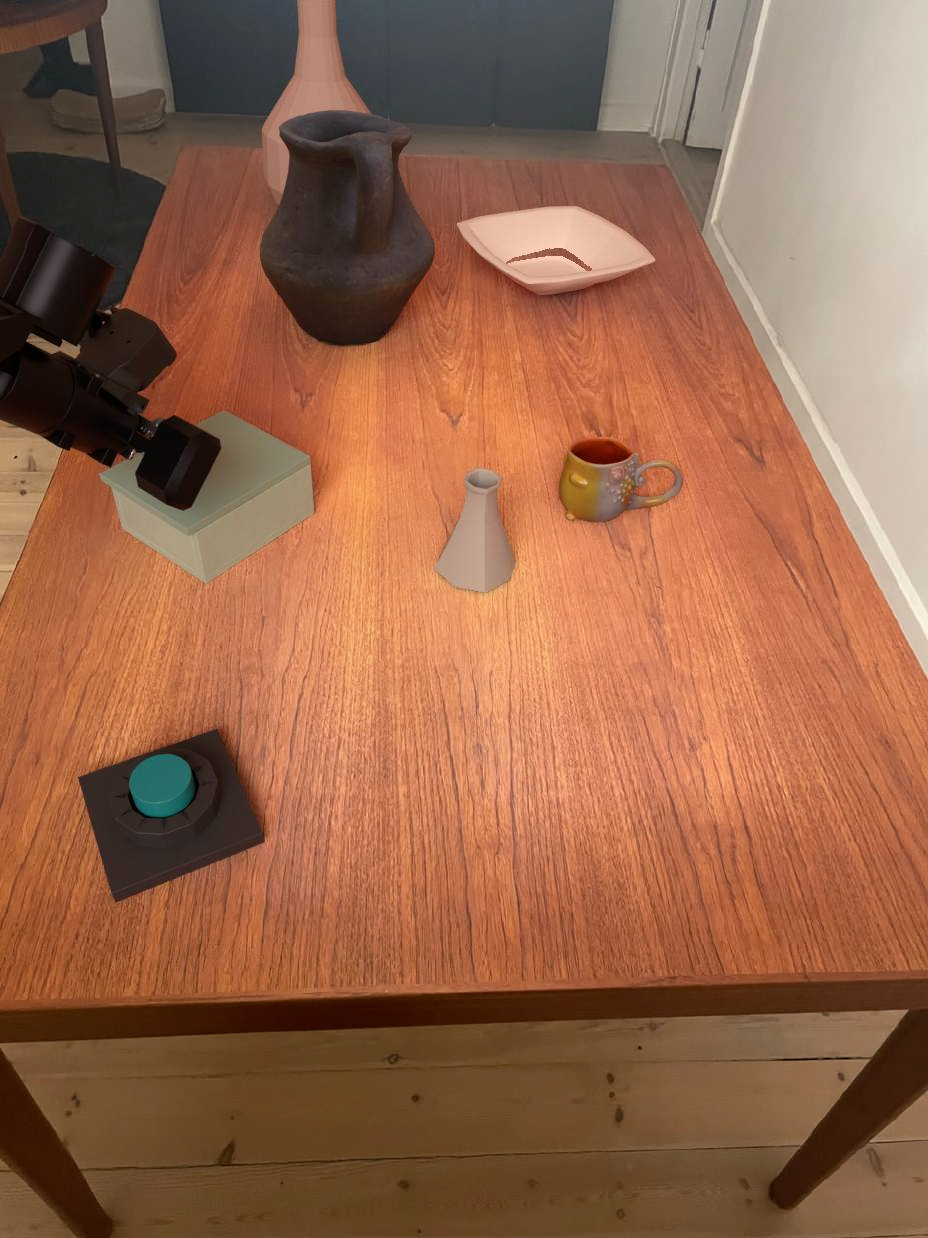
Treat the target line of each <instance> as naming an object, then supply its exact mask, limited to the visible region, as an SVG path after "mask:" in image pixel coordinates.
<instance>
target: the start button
mask: <svg viewBox="0 0 928 1238" xmlns="http://www.w3.org/2000/svg"><path fill="white" fill-rule="evenodd" d="M129 787H130V791H131V794H132V796H133V799H134V802H135V805H136V807H137V808H138V809H139V811H141V812H142V813H143V814H145V815H147V816H150V817H155V818H163V817H169V816H172V815H174V814H177V813H179V812H180V811H182V810H183V809H184V808H186V807H187V806H188V804H189V803H190V802H191V800H192V798H193V796H194V793H195V783H194V779H193V776H192V772H191V768H190V766H189V764H188V763H187V762H186V761H185V760H184V759H183V758H181V757H179V756H176V755H172V754H160V755H155V756H152V757H150V758H147V759H146V760H144V761H142V762H141V763H140V764H139V765H138V766H137V767H136V768H135V769H134V771H133V772H132V774H131V776H130V780H129Z"/></svg>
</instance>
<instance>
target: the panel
mask: <svg viewBox="0 0 928 1238" xmlns="http://www.w3.org/2000/svg"><path fill="white" fill-rule="evenodd" d="M160 754H172V755H176V756H179V757H181V758H183V759H184V760H185V761H186V762H187V763H188V764H189V766H190V768H191V772H192V776H193V779H194V783H195V793H194V796H193V798H192V800H191V802H190V803H189V804H188V806H187V807H186V808H184V809H183V810H182V811H180V812H179V813H177V814H174V815H172V816H169V817H163V818H155V817H150V816H147V815H145V814H143V813H142V812H141V811H139V809H138V808H137V807H136V805H135V802H134V799H133V796H132V794H131V791H130V787H129V780H130V776H131V774H132V772H133V771H134V769H135V768H136V767H137V766H138V765H139V764H140V763H141V762H142V761H144V760H146V759H147V758H150V757H152V756H155V755H160ZM77 779H78V782H79V786H80V790H81V793H82V797H83V800H84V804H85V807H86V811H87V813H88V814H87V815H88V817H89V821H90V824H91V828H92V831H93V835H94V838H95V842H96V845H97V849H98V852H99V855H100V859H101V862H102V865H103V869H104V873H105V876H106V880H107V883H108V886H109V889H110V893H111V896H112V898H113V901H114V903H119V902H120V901H122V900H126V899H128V898H131V897H133V896H135V895H138V894H141V893H143V892H145V891H147V890H150V889H153V888H155V887H158V886H160V885H163V884H165V883H168V882H170V881H172V880H175V879H177V878H180V877H182V876H185V875H187V874H189V873H192V872H195V871H197V870H199V869H202V868H204V867H207V866H209V865H212V864H215V863H217V862H220V861H222V860H224V859H226V858H230V857H232V856H234V855H237V854H239V853H241V852H244V851H246V850H250V849H252V848H254V847H256V846H260V845H261V844H264V843H265V839H264V834H263V831H262V829H261V826H260V824H259V821H258V819H257V817H256V815H255V812H254V810H253V808H252V806H251V804H250V800H249V799H248V796H247V794H246V792H245V789H244V787H243V785H242V783H241V780H240V778H239V775H238V773H237V770H236V768H235V766H234V763H233V762H232V760H231V757H230V755H229V752H228V750H227V748H226V745H225V743H224V741H223V738H222V736H221V734H220V732H219V729H218V728H214V729H211V730H208V731H206V732H203V733H199V734H197V735H194V736H191V737H189V738H185V739H182V740H180V741H178V742H175V743H172V744H169V745H165V746H163V747H160V748H157V749H155V750H152V751H148V752H146V753H143V754H141V755H140V754H139V755H137V756H134V757H131V758H129V759H126V760H123V761H120V762H118V763H114V764H111V765H109V766H105V767H103V768H100V769H97V770H94V771H92V772H89V773H86V774H82V775H80V776H78V777H77Z"/></svg>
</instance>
